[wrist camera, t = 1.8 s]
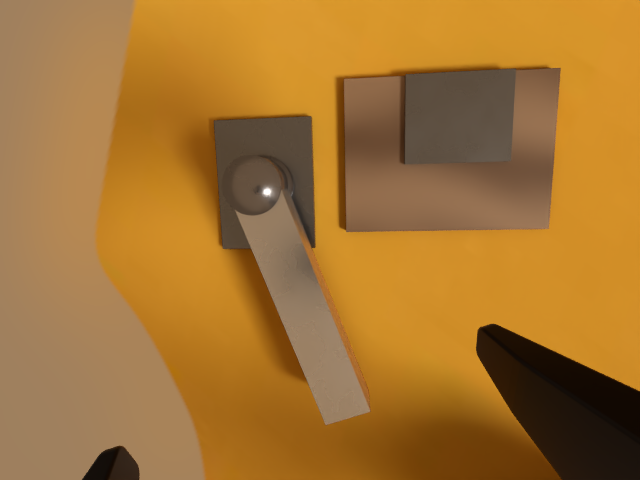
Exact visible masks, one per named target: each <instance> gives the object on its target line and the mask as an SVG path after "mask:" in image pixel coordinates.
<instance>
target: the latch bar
mask: <svg viewBox="0 0 640 480" xmlns="http://www.w3.org/2000/svg"><path fill="white" fill-rule="evenodd" d="M222 191H223V195H224V197H225V199H226V201H227V203H228V204H229V205H230V206H231V207H232V208H233V209H234V210H235V211H236V214H237V216H238V218H239V221H240V223H241V226H242V228H243V230H244V233H245V235H246V237H247V240H248V242H249V244H250V247H251V249H252V252H253V254H254V256H255V259H256V261H257V263H258V266H259V268H260V271H261V273H262V275H263V278H264V280H265V282H266V285H267V287H268V290H269V292H270V294H271V297H272V299H273V301H274V304H275V306H276V308H277V311H278V313H279V316H280V318H281V320H282V323H283V325H284V327H285V330H286V332H287V335H288V337H289V339H290V342H291V344H292V346H293V349H294V351H295V354H296V356H297V358H298V361H299V363H300V365H301V368H302V370H303V372H304V375H305V377H306V380H307V382H308V384H309V387H310V389H311V391H312V394H313V396H314V399H315V401H316V403H317V406H318V408H319V410H320V413H321V415H322V418H323V420H324V422H325V425H328V424H331V423H335V422H338V421H341V420H345V419H348V418H351V417H354V416H358V415H361V414H364V413H368V412H371V411H370V401H369V390H368V387H367V385H366V382H365V380H364V377H363V375H362V372H361V370H360V367H359V365H358V362H357V360H356V357H355V355H354V352H353V350H352V347H351V345H350V342H349V340H348V337H347V335H346V332H345V330H344V327H343V325H342V323H341V320H340V318H339V315H338V313H337V310H336V308H335V305H334V303H333V300H332V298H331V295H330V293H329V290H328V288H327V285H326V283H325V280H324V278H323V275H322V273H321V270H320V268H319V265H318V263H317V260H316V258H315V255H314V253H313V250H312V248H311V245H310V243H309V240H308V238H307V235H306V233H305V230H304V228H303V225H302V223H301V220H300V218H299V215H298V213H297V210H296V208H295V205H294V203H293V200H292V198H291V195H290V193H289V190H288V180H287V176H286V174H285V172H284V170H283V169H282V168H281V166H279V165H278V164H277V163H276V162H274V161H272V160H270V159H267V158H263V157H260V156H256V155H245V156H241V157H238V158H236V159H235V160H233V161H232V162H231V163H230V164H229V165H228V166H227V168H226V169H225V172H224V174H223V177H222Z"/></svg>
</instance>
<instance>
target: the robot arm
mask: <svg viewBox="0 0 640 480" xmlns="http://www.w3.org/2000/svg"><path fill="white" fill-rule="evenodd" d="M476 351H477V355H478V357H479V359H480V361H481V362H482V364H483V366H484V367H485V369H486V371H487V372H488V374H489V376H490V377H491V379H492V381H493V382H494V384H495V386H496V387H497V389H498V391H499V392H500V394H501V395H502V397H503V399H504V400H505V402H506V404H507V405H508V407H509V408H510V410H511V411H512V413H513V414H514V416H515V417H516V418H517V420H518V421H519V423H520V424H521V425H522V427H523V428H524V429H525V431H526V432H527V433H528V435H529V436H530V437H531V439H532V440H533V441H534V443H535V444H536V445H537V447H538V448H539V449H540V451H541V452H542V453H543V455H544V456H545V457H546V459H547V460H548V461H549V463H550V464H551V465H552V467H553V468H554V469H555V471H556V472H557V473H558V475H559V476H560V477H561V479H562V480H640V391H638V390H636V389H634V388H632V387H630V386H627V385H625V384H623V383H621V382H619V381H617V380H615V379H612V378H610V377H608V376H606V375H604V374H602V373H600V372H597V371H595V370H593V369H591V368H589V367H587V366H585V365H582V364H580V363H578V362H576V361H574V360H572V359H570V358H567V357H565V356H563V355H561V354H559V353H557V352H554V351H552V350H550V349H548V348H546V347H544V346H542V345H539V344H537V343H535V342H533V341H531V340H529V339H527V338H524V337H522V336H520V335H518V334H516V333H514V332H512V331H509V330H507V329H505V328H503V327H501V326H499V325H496V324H489V325H486V326H483V327H480V328H479V329H478V332H477V344H476ZM82 480H139V468H138V465H137V463H136V461H135V460H134V459H133V458H132V456H131V455H130V454H129V452H128V451H127V450H126V449H125V448H124V447H123V446H117V447H114V448H111V449H108V450H105V451H103V452H102V453H101V454H100V455H99V456H98V457H97V459H96V460H95V462H94V463H93V465H92V466H91V468H90V469H89V471H88V472H87V473H86V475H85V476H84V478H83V479H82Z"/></svg>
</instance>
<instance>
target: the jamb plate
mask: <svg viewBox="0 0 640 480" xmlns="http://www.w3.org/2000/svg"><path fill="white" fill-rule="evenodd" d="M214 130H215V144H216V159H217V173H218V187H219V202H220V216H221V230H222V245H223V249H251V247H250V244H249V242H248V240H247V237H246V235H245V233H244V230H243V228H242V226H241V223H240V221H239V218H238V216H237V214H236V211H235V210H234V209H233V208H232V207H231V206H230V205H229V204H228V203H227V201H226V199H225V197H224V195H223V191H222V177H223V174H224V172H225V169H226V168H227V166H228V165H229V164H230V163H231V162H232V161H233V160H235V159H236V158H238V157H241V156H245V155H256V156H260V157H263V158H267V159H270V160H272V161H274V162H276V163H277V164H278V165H279V166H281V168H282V169H283V170H284V172H285V174H286V176H287V180H288V190H289V193H290V195H291V198H292V200H293V203H294V205H295V208H296V210H297V213H298V215H299V218H300V220H301V223H302V225H303V228H304V230H305V233H306V235H307V238H308V240H309V243H310V245H311V248H315V247H316V246H315V211H314V176H313V142H312V117H311V116H310V117H286V118H263V119H239V120H216V121H214Z"/></svg>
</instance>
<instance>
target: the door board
mask: <svg viewBox="0 0 640 480" xmlns="http://www.w3.org/2000/svg"><path fill="white" fill-rule="evenodd" d="M560 69H561V68H549V69H530V70H516V80H515V98H514V116H513V134H512V152H511V161H504V162H471V163H439V164H406V165H404V124H405V76H392V77H373V78H353V79H344V112H345V178H346V232H372V231H437V230H501V229H549V218H550V205H551V191H552V177H553V164H554V150H555V137H556V123H557V109H558V96H559V82H560Z"/></svg>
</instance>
